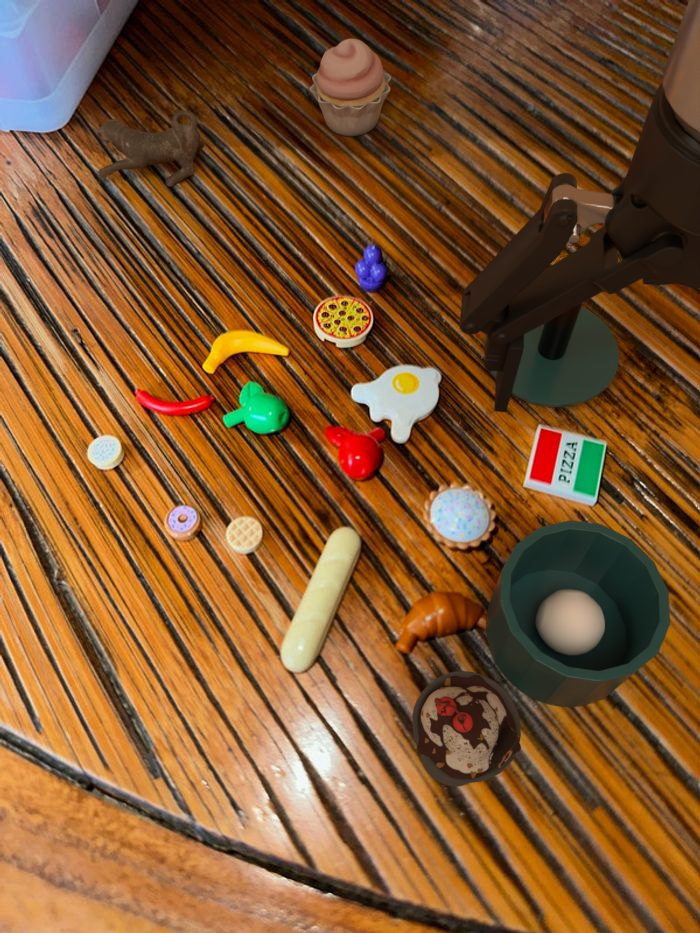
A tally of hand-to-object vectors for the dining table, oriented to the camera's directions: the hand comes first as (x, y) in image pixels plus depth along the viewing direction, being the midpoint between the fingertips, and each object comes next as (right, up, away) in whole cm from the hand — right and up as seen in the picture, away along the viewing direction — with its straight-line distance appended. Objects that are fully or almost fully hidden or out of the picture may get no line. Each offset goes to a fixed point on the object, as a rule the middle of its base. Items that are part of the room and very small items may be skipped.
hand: (608, 404), depth 48 cm
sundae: (-9, -25, +8) cm, 27 cm away
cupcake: (-16, +37, +42) cm, 58 cm away
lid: (+3, +7, +24) cm, 25 cm away
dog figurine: (-39, +30, +39) cm, 63 cm away
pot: (0, -17, +12) cm, 20 cm away
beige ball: (0, -17, +11) cm, 20 cm away
